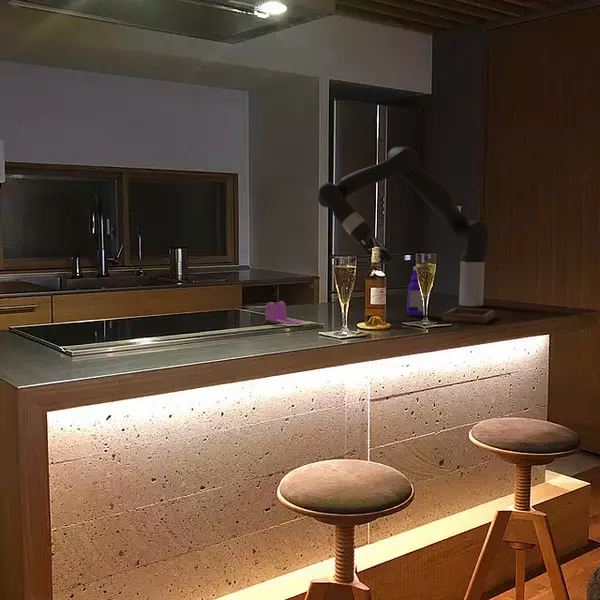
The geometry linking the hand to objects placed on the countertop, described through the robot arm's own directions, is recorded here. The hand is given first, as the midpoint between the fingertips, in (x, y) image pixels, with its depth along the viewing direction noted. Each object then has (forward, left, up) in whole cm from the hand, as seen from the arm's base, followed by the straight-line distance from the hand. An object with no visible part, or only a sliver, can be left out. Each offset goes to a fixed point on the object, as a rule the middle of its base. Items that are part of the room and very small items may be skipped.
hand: (387, 260), depth 277 cm
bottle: (0, +12, -19) cm, 22 cm away
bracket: (+41, -20, -19) cm, 50 cm away
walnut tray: (0, +30, -19) cm, 35 cm away
